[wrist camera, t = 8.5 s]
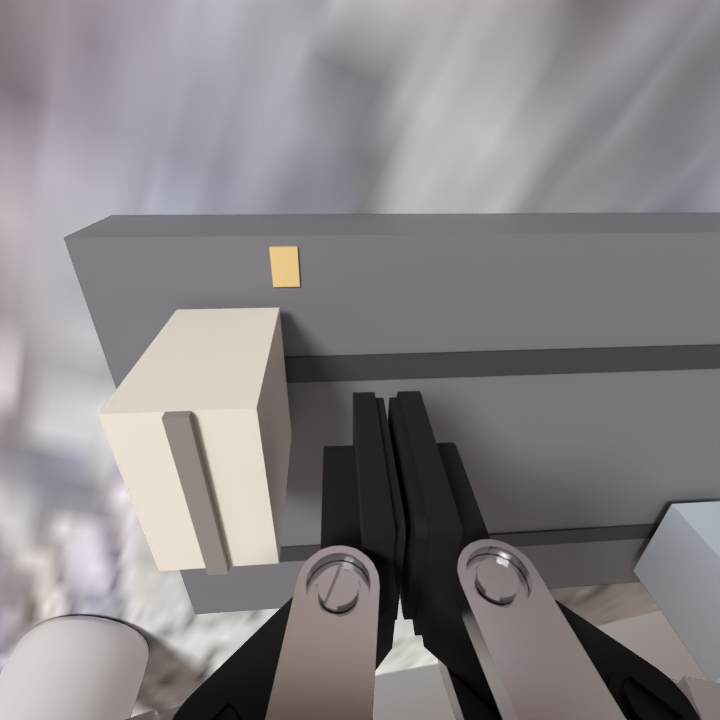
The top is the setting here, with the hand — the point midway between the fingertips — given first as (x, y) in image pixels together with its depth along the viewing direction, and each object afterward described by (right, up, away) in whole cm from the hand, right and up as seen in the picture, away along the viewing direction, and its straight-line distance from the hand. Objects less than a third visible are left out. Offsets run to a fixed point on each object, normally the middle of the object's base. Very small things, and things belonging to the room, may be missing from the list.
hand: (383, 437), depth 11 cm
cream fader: (-4, +1, +3) cm, 6 cm away
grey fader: (+15, -7, +9) cm, 19 cm away
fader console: (+5, -1, +9) cm, 10 cm away
